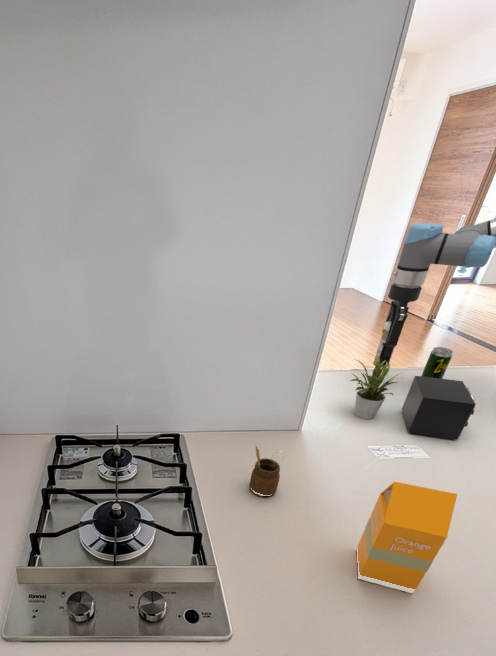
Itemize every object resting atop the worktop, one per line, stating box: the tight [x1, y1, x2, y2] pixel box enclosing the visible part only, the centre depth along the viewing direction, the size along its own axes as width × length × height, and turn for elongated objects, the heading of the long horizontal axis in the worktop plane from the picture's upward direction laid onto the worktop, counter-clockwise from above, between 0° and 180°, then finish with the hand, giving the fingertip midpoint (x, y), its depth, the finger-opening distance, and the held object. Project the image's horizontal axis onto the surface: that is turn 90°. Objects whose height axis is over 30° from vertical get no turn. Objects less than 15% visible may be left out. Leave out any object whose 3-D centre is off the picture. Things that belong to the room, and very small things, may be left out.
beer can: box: [420, 346, 454, 379], centre depth 132 cm, size 5×5×12 cm
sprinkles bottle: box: [372, 321, 396, 368], centre depth 133 cm, size 5×5×13 cm
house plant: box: [349, 355, 404, 420], centre depth 120 cm, size 14×14×16 cm
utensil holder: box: [249, 445, 285, 495], centre depth 95 cm, size 6×6×12 cm
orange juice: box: [356, 481, 458, 590], centre depth 74 cm, size 8×9×20 cm
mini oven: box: [401, 375, 477, 440], centre depth 115 cm, size 12×13×11 cm
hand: (381, 361), depth 137 cm, fingers closed on sprinkles bottle, 4 cm apart
